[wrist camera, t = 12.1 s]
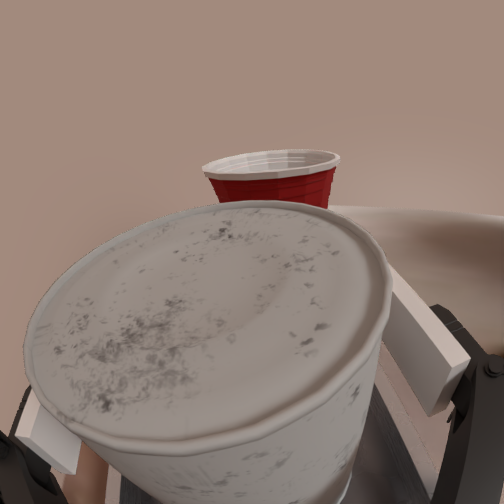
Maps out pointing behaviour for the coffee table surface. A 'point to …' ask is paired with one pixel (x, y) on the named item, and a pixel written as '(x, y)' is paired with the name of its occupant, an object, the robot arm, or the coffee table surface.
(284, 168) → the plastic cup
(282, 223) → the speckled white cylinder
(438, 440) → the coffee table surface
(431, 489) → the grey square tray
